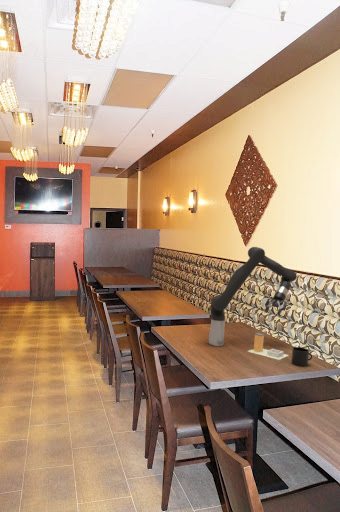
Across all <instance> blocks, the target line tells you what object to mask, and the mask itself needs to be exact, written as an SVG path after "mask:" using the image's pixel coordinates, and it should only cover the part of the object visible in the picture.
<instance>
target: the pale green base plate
mask: <svg viewBox="0 0 340 512" xmlns="http://www.w3.org/2000/svg"><path fill="white" fill-rule="evenodd" d="M247 352H248V353H251V354H255V355H260V356H264V357H267V358H271V359H274V360H279V361H280V360H282V359H284V358H286V357H289V354H286V353H284V352H285V351H283V350H278V349H275V348H271V349H266V348H263V351H261V352H257V351H254V348H253V349H250V350H247Z"/></svg>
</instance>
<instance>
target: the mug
mask: <svg viewBox="0 0 340 512" xmlns="http://www.w3.org/2000/svg"><path fill="white" fill-rule="evenodd" d="M291 352H292V353H291V354H292V355H291V364H293V365H294V366H298V367H307V366H308V365H309V361H311V360H312V359H313V355H312V353H310V350H309V349H308V348H306V347H301V346H300V347H299V346H295V347H293V348H292V351H291ZM309 356H310V358H309Z"/></svg>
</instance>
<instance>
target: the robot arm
mask: <svg viewBox="0 0 340 512" xmlns="http://www.w3.org/2000/svg"><path fill="white" fill-rule="evenodd" d="M247 257H249V258H248V260H247V261H246V262H245V263H243V265H241V266H239V267H238V268H237V269H236V270H235V271H234V272H233V274H232V275H231V276H230V278H229V280H228V282H227V284H226V287H225V289H224V291H223V292H222V293H221V295H215V296H213V297H212V299H211V303H210V315H211V317H210V319H211V320H210V321H211V322H210V329H209V330H208V331H209V332H208V344H209V345H211V346H215V347H222V346H224V339H225V338H224V337H225V325H226V324H225V323H226V315H225V309H227V307H228V306H229V304H230V302H231V301H232V299H233V297H234V296H235V295H236V293H237V292H238V291H239V289H240V288H241V287H242V286H243V285H244V283H245V282H246V280H247V279H248V278H249V276H251V274H252V272H253V271H254V270H255V269H256V267H258V266H259V264H261V265H263V266H265V267H266V268H267V269H268V270H270V271H271V272H273V273H274V274H276V275H277V276H280V277H281V278H280V284H279V285H278V288H277V289H276V291H275V293H274V294H273V296H272V297H273V298H272V299H270V298H267V300H266V302H265V303H264V307H265V309H264V311H265V313H267V314H268V312H269V309H271V308H274V307H276V308H278V310H277V313H276V314H277V315H278V316H279V315H281V313H282V311H286V309H287V306H288V303H287V301H285V300H286V298H287V296H288V293H289V290H290V288H291V284H290V282H294V281H296V280H297V278H298V275H297V273H296V272H295V271H294V270H292V269H289V268H287V267H285V266H283V265H282V264H280V263H279V262H277V261H275V260H273V259H271V258H270V257H268V256H267V255H266V252H265V250H264V249H263V248H261V247H258V246H253V247H252V246H251V247H250V248H249V249H248V251H247ZM277 315H276V316H277Z"/></svg>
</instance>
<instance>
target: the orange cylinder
mask: <svg viewBox="0 0 340 512" xmlns="http://www.w3.org/2000/svg"><path fill="white" fill-rule="evenodd" d="M264 339H265V334H264V333H260V332H256V333H254V339H253V349H254V351H257V352H261V351H263V349H264Z"/></svg>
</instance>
